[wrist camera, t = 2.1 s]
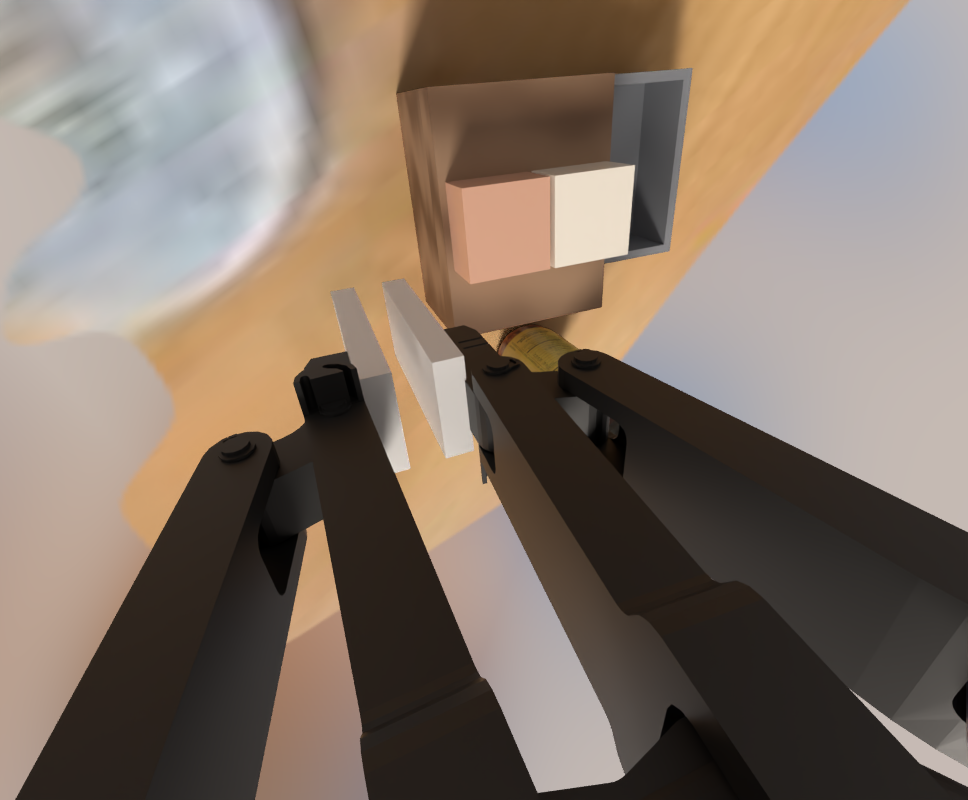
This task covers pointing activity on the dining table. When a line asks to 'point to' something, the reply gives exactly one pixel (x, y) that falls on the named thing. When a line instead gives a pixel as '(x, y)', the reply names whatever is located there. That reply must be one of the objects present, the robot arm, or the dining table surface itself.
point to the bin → (650, 151)
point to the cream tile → (589, 211)
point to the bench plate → (497, 151)
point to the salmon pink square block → (499, 225)
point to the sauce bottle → (540, 351)
